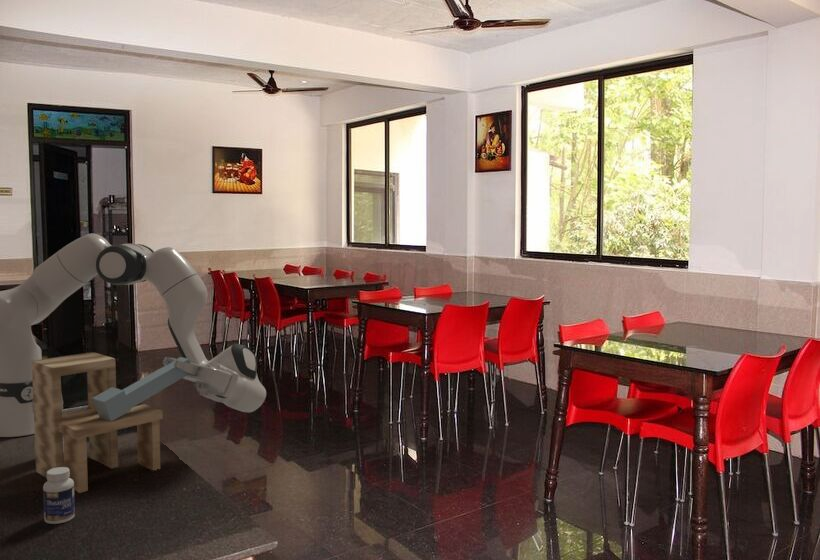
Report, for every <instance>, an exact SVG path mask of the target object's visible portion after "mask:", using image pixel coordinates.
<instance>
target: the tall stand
mask: <svg viewBox="0 0 820 560" xmlns="http://www.w3.org/2000/svg"><path fill="white" fill-rule="evenodd" d="M116 363H117V362H116V358H114V357H111V356H108V355H105V354H101V353H98V352H93V351H91V352H85V353H83V352H82V353H77V354H70V355H62V356H57V357H55V356H54V357H50V358H42V359H41V360H34V361H32V378H33V405H34V431H35V434H34V457H35V472H36V473H37V474H39V475H41V476H42V477H44V478H46V479H47V471H48V470H50V469H53V468H58V467H64V453H63V433H61V432H59V423H60V422H64V421H69V420H74V419H78V418H83V417H88V416H92V415H97V414H98V412H97V410H96V407H95V405H94V402H93V400H92V398H93V397H95V396H97V395H99V394H100V393H102V392H104V391H106V390H108V389H110V388H111V387H113V388H117V376H116V375H117V371H116V366H117V365H116ZM81 373H86V376H87V378H86V379H87V383H86V384H87V407H86V408H79V409H75V410H70V411H65V412H63V410H62V401H61V393H62V380H61V379H62V377H64V376H69V375H76V374H81ZM118 443H119V442H118V430H114V431H110V432H106V433H102V434H98V435H93V436H89V437H88V444H89V445H88V446H89V449H88V450H89V458H90V459H91V460H93V461H96V462H97V461H98V462H97V463H99V462H100V463H99V464H101V463H102V465H103V464H104V466H105V465H106V466H105V467H107V466H108V468H110V469H116V468H118V467H119V449H118V448H119V447H118V445H119V444H118ZM115 467H116V468H115Z"/></svg>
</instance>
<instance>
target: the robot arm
mask: <svg viewBox="0 0 820 560" xmlns="http://www.w3.org/2000/svg"><path fill="white" fill-rule="evenodd" d="M97 276H99V278H100V279H102V281H104V282H106V283H108V284H111V285H114V286H124V285H125V286H128V285H129V286H130V285H136V284H139V283H143V282H146V281H147V282H149V283H151V284H152V285H153V286H154V287H155V289H156V290H157V292H158V293H159V294H160V296H161V297H162V299H163V301H164V302H165V305H166V307H167V308H166V309H167V312H168V319H167V325H168V329H169V332H170V334H171V336H172V339H173V341H174V343H175V344H176V346H177V348H178V349H177V350H179V353H180V354H181V357H182V358H187V359H189V360H190V363H191V364H188V363H185V362H183V361H180V360H176V359H177V358H174V357H167V356H166V357H164V359H163V360H162V364H163V367H164V366H165V365H167V364H169V363H171V362H173V361H174V360H176V362H175V364H174V367H176V368H178V369H181V370H183V371H185V372H187V373H189V374H187V375H186V376H185V377H183V378H182V379H183V380H185V381H186V380H187V381H190V382H192V384H193V386H194V388H195V391H196V392H197V393H198V394H199V395H200V396H202V397H204V398H206V399H210V400H212V401H214V402H216V403H217V402H218V403H222V404H224V405H225V406H227V407H228V408H230V409H233V410H237V411H238V412H243V413H253V412H255V411H256V410H258V409H259V408H260V407H261V406H262V405H263V403H264V402H265V400H266V397H267V390H266V388H265V386H264V385H263V384H262V383H261V381H260V380H259V377H258V373H257V372H258V371H257V370H258V360H257V356H256V354H255V353H254V352H253V351H252V350H251V348H248V346H246V345H243V344H242V343H241V344H240V343H234V344H232V345H230V346H229V347H227V348H225V349H224V350H223V351H221V352H219V354H217V355H216V356H214V357H213V358H212V359H210V360H208V359H207V357H206V356H205V354H204V351H203V349H202V346H201V345H200V343H199V341H198V339H197V336H196V332H195V331H196V330H195V329H196V325H197V322H198V320H199V318H200V316H201V315H202V313H203V312H204V310H205V307H206V305H207V303H208V302H207V301H208V294H209V293H208V289H207V287H206V284H205V283H204V281H203V279H202V278H201V277H200V275H199V273H198V272H197V271H196V269H195V268H194V267H193V266H192V264H191V263H190V262H189V261H188V260H187V258H185V256H184V255H182V253H180V252H179V251H178V250H177V248H173V247H169V246H167V247H161V248H159V249H157V250H155V251H154V250H153V249H152V248H151V247H149V246H147V245H145V244H140V243H129V242H128V243H122V244H113V245H112V244H110V241H108V240H107V239H106V238H105V237H104V236H102V235H100V234H97V233H87V234H85V235H83V236H81V237H79V238H76V239H74V240H73V241H71V242H70V243H68V244H66V245H65V246H63V247H62V248H61V249H59V250H58V251H57V252H55V253H54V254H53V255H50V257H48V258H47V259H46V260H44V261H43V262H41V263H40V264H39V265H38V266H36V267H35V268H34V270H33V272H32V273H31V275H30V276H29V277H28V278H27V279H26V280H25V281H23V282H22V283H21V284H19V285H18V286H15V287H13V288H10V289H9V288H8V289H6V290H0V438H15V437H23V436H24V437H25V436H30V435H35V431H34V413H33V408H32V402H33V378H32V361H34V360H41V359H43V357H42V356H43V355H42V348H41V347H40V346H39V345H38V344H37V342H36V340H35V338H34V335H33V331H32V326H34V325H37V324H39V323H41V322H43V321H44V320H45V319H46V318H48V317H49V316H50V314H52V312H54V311H55V310H56V309H57V308H58V307H59V306H60V305H61V304H62V303H63V302H64V301H65V300H66V299H67V298H69V297H70V296H71V295H73V294H74V293H76V292H77V291H78V290H80V289H81V288H82V287H84V286H85V285H86V284H87V283H90V281H91V280H93V279H94V278H96V277H97Z"/></svg>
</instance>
